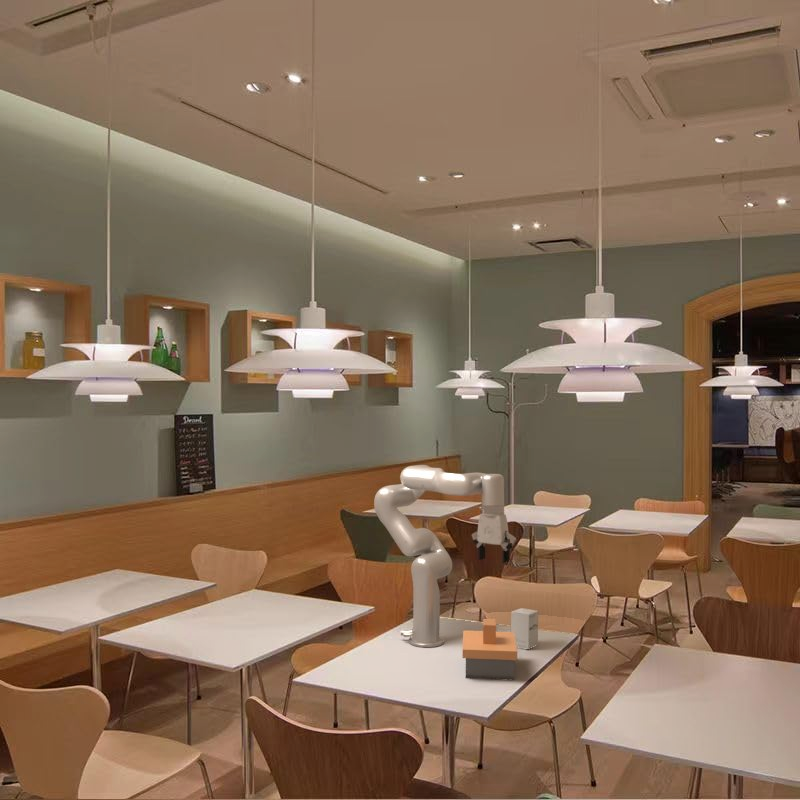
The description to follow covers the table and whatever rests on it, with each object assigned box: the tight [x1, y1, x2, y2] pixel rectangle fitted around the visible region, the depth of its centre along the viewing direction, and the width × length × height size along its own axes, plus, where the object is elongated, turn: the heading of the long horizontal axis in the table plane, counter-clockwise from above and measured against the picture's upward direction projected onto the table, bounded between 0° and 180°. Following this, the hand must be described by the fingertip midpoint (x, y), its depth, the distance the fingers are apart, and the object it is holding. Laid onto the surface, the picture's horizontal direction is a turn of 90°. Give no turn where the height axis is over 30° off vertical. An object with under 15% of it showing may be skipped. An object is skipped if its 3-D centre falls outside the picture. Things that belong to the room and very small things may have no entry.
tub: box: [465, 658, 515, 681], centre depth 269 cm, size 15×20×8 cm
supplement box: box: [510, 607, 539, 650], centre depth 294 cm, size 7×7×13 cm
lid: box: [462, 618, 518, 661], centre depth 269 cm, size 17×22×9 cm
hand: (493, 560), depth 282 cm, fingers open, 9 cm apart
